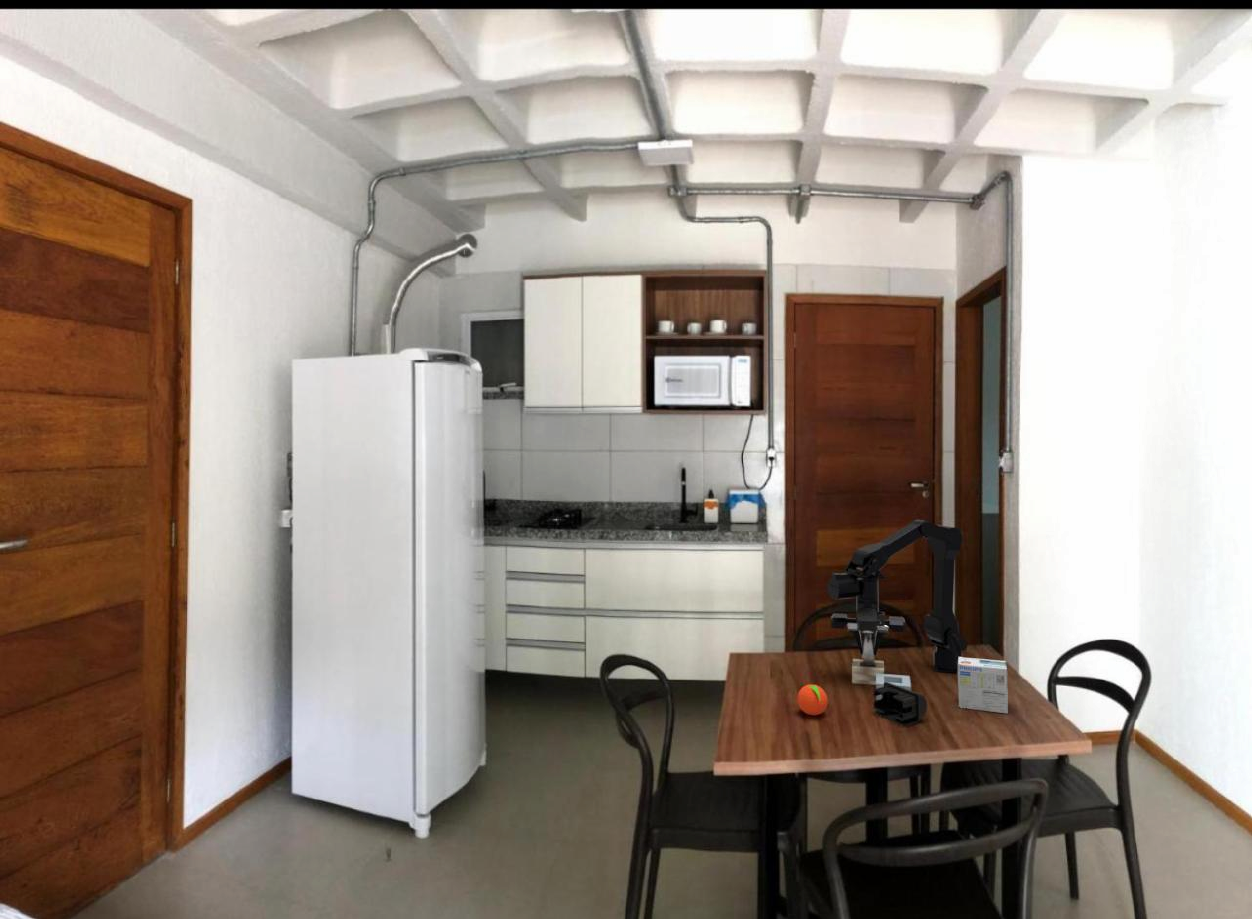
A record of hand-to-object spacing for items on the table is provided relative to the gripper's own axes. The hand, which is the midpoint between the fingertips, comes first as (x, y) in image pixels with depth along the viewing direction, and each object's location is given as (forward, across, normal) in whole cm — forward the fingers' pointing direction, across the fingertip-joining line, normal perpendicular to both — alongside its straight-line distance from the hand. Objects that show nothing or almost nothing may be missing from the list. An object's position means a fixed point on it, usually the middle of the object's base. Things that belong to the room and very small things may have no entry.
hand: (868, 654), depth 194 cm
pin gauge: (+4, 0, 0) cm, 4 cm away
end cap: (+7, +7, -25) cm, 27 cm away
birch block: (+7, 0, 0) cm, 7 cm away
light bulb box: (+7, +26, -13) cm, 30 cm away
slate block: (+7, +6, -11) cm, 14 cm away
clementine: (+7, -12, -29) cm, 32 cm away
